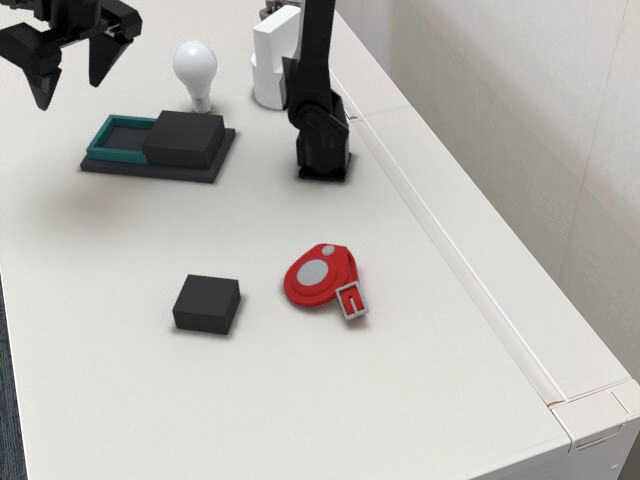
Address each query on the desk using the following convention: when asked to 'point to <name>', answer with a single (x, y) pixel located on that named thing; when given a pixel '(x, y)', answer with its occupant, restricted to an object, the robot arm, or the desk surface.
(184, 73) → the lightbulb
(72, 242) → the desk surface
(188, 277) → the black block
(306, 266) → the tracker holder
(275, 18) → the base with upright slab
